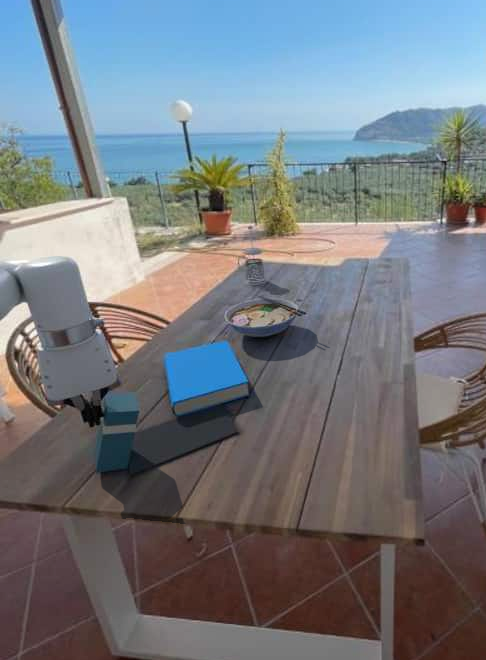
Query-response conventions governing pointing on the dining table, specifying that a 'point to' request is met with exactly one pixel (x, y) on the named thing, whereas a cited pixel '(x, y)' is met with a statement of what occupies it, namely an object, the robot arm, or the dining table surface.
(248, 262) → the french press
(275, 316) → the ramen bowl
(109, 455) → the carton
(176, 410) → the book
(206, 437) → the mat
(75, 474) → the dining table surface
